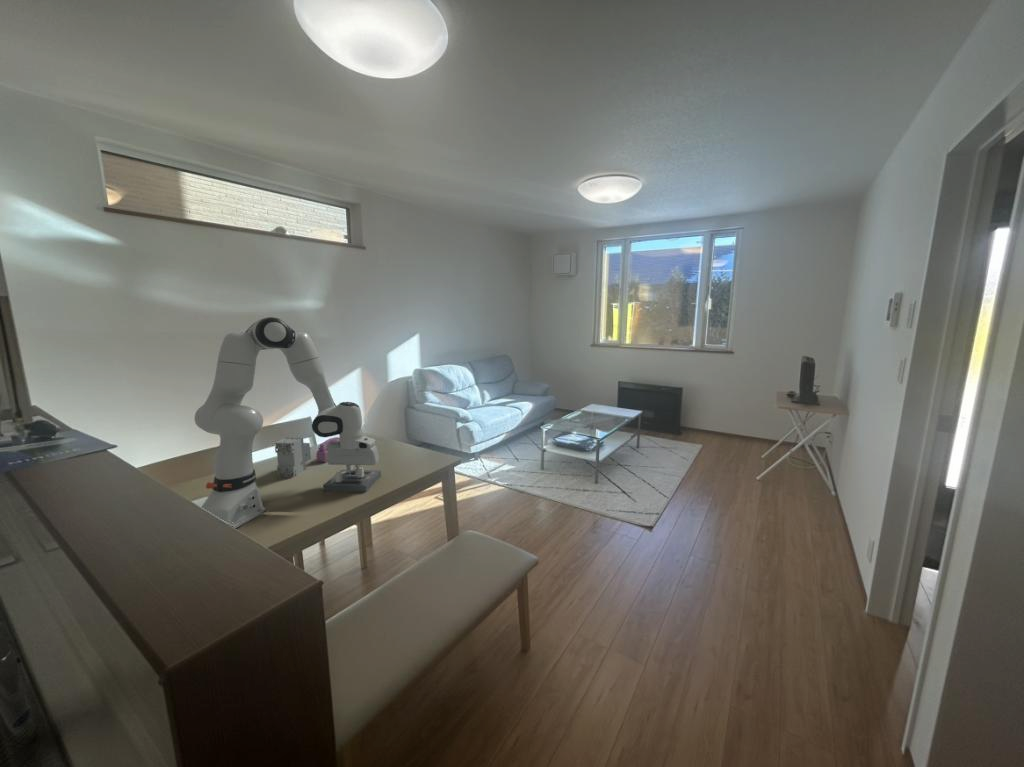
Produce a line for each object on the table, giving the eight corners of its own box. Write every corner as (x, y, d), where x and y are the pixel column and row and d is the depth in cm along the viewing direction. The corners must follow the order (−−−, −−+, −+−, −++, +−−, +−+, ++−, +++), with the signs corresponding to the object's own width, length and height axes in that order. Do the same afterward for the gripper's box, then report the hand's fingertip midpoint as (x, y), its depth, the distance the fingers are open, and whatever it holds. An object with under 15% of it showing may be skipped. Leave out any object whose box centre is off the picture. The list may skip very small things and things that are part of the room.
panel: (366, 491, 160) (365, 485, 159) (323, 491, 160) (323, 484, 160) (381, 476, 175) (380, 470, 175) (342, 475, 176) (341, 469, 176)
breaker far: (351, 472, 171) (350, 464, 171) (346, 472, 172) (346, 464, 171) (353, 470, 173) (352, 463, 173) (349, 470, 174) (348, 463, 173)
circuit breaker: (313, 465, 188) (311, 433, 185) (294, 477, 174) (291, 443, 171) (298, 464, 189) (295, 433, 186) (277, 476, 175) (274, 442, 172)
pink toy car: (326, 464, 189) (325, 443, 188) (315, 463, 191) (313, 442, 189) (351, 452, 206) (349, 433, 204) (340, 451, 208) (338, 432, 206)
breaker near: (340, 482, 162) (339, 473, 161) (335, 482, 162) (335, 473, 161) (342, 480, 164) (341, 472, 163) (338, 480, 164) (337, 471, 163)
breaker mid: (362, 477, 166) (361, 469, 166) (357, 477, 166) (357, 469, 166) (364, 475, 168) (363, 467, 168) (359, 475, 168) (359, 467, 168)
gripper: (322, 444, 162) (325, 477, 165) (373, 444, 162) (375, 477, 164) (330, 439, 169) (332, 471, 171) (379, 439, 168) (381, 471, 170)
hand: (354, 474), depth 167 cm, fingers closed
